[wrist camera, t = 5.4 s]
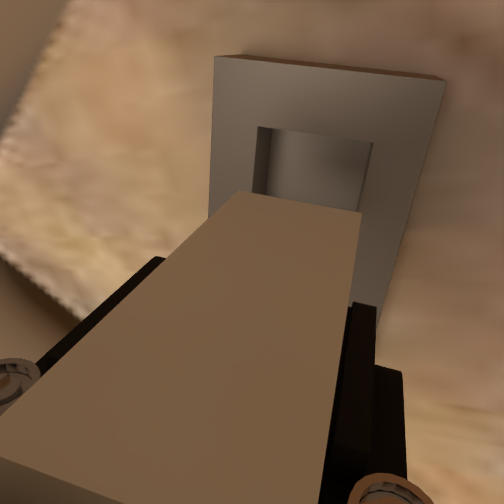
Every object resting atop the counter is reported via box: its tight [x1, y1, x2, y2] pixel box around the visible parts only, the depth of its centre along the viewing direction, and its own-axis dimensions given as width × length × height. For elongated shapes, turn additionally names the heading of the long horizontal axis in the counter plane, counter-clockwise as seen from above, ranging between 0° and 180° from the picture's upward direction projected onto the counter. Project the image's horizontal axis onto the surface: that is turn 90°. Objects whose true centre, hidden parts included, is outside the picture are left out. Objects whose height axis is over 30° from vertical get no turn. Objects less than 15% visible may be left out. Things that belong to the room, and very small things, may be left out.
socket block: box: [208, 55, 447, 328], centre depth 25 cm, size 10×24×4 cm, turn 175°
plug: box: [0, 190, 362, 504], centre depth 10 cm, size 4×5×10 cm
